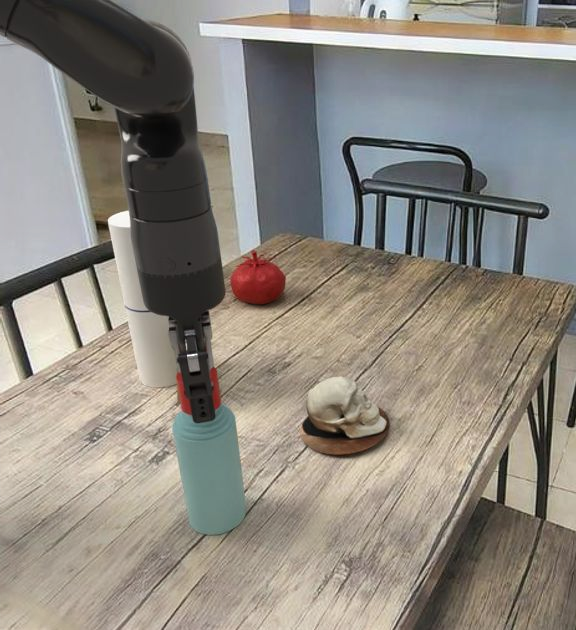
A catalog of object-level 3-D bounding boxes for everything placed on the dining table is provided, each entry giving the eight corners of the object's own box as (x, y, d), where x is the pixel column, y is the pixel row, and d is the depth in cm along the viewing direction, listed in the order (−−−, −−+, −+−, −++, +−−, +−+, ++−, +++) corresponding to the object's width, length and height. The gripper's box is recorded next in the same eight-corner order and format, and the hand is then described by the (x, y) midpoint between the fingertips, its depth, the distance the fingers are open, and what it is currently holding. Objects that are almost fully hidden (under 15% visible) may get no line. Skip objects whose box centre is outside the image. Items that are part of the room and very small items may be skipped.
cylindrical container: (151, 393, 99) (120, 231, 87) (131, 372, 103) (99, 216, 92) (197, 375, 103) (173, 219, 91) (176, 357, 108) (151, 205, 96)
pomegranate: (262, 315, 121) (258, 267, 116) (221, 301, 125) (215, 254, 121) (298, 294, 128) (295, 248, 124) (258, 282, 133) (253, 237, 128)
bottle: (188, 540, 74) (162, 400, 66) (188, 500, 80) (165, 366, 71) (248, 529, 76) (231, 391, 67) (244, 490, 82) (228, 358, 73)
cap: (222, 412, 70) (218, 381, 68) (181, 419, 69) (176, 387, 67) (219, 391, 73) (215, 360, 71) (180, 397, 72) (175, 366, 70)
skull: (402, 400, 97) (390, 381, 87) (384, 472, 93) (369, 461, 84) (323, 384, 99) (302, 364, 90) (303, 454, 96) (280, 441, 86)
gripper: (226, 281, 58) (247, 441, 66) (215, 225, 70) (234, 367, 78) (132, 292, 56) (166, 456, 64) (137, 233, 68) (165, 378, 76)
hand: (203, 406), depth 71 cm, fingers closed on cap, 4 cm apart
